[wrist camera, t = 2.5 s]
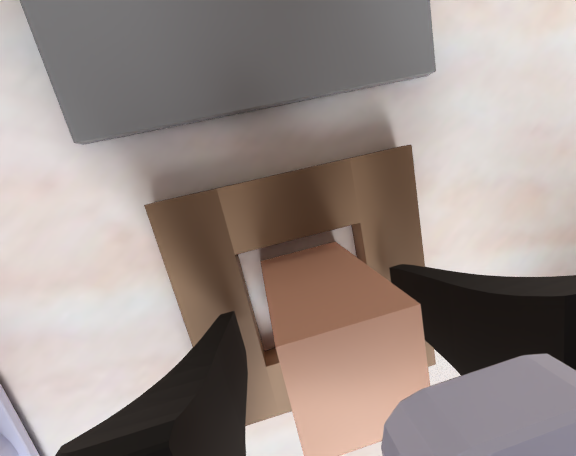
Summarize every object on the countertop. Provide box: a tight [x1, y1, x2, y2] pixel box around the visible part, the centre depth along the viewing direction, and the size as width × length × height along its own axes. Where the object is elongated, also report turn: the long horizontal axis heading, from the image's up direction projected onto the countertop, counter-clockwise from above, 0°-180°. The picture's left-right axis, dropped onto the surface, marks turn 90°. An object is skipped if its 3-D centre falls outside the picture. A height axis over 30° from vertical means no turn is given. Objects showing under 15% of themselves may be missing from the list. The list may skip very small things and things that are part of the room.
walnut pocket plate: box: [144, 145, 436, 426], centre depth 14 cm, size 12×12×1 cm
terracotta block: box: [261, 242, 430, 456], centre depth 11 cm, size 4×4×7 cm
